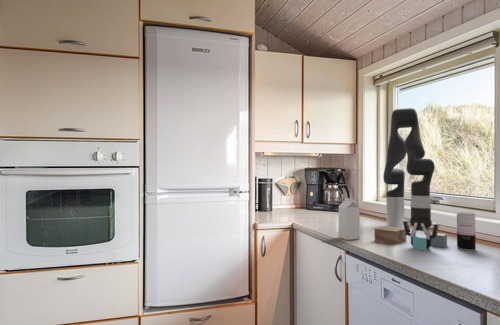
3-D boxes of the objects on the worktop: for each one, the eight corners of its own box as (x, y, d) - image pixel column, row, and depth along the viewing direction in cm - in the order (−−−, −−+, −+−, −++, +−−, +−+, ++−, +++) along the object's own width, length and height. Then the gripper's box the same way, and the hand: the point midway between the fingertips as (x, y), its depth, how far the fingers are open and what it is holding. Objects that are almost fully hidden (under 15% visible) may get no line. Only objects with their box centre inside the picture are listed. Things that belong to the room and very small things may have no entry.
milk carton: (346, 240, 163) (346, 199, 163) (338, 237, 170) (338, 198, 170) (359, 239, 165) (359, 199, 165) (351, 236, 171) (351, 197, 172)
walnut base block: (385, 238, 168) (385, 226, 168) (406, 241, 160) (406, 228, 160) (374, 241, 161) (374, 228, 161) (395, 245, 153) (395, 231, 154)
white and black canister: (458, 246, 150) (458, 211, 150) (476, 248, 145) (476, 212, 146) (455, 249, 145) (455, 212, 145) (474, 251, 140) (474, 214, 141)
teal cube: (416, 246, 149) (416, 234, 149) (429, 248, 146) (429, 236, 146) (412, 248, 146) (412, 236, 146) (425, 250, 142) (425, 238, 142)
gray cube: (434, 244, 155) (434, 232, 155) (447, 245, 151) (447, 234, 151) (431, 246, 151) (430, 234, 151) (443, 247, 148) (443, 235, 148)
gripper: (442, 206, 144) (442, 248, 144) (406, 204, 154) (406, 243, 154) (436, 208, 138) (437, 251, 138) (399, 205, 148) (400, 245, 148)
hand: (420, 246), depth 146 cm, fingers closed on teal cube, 5 cm apart
